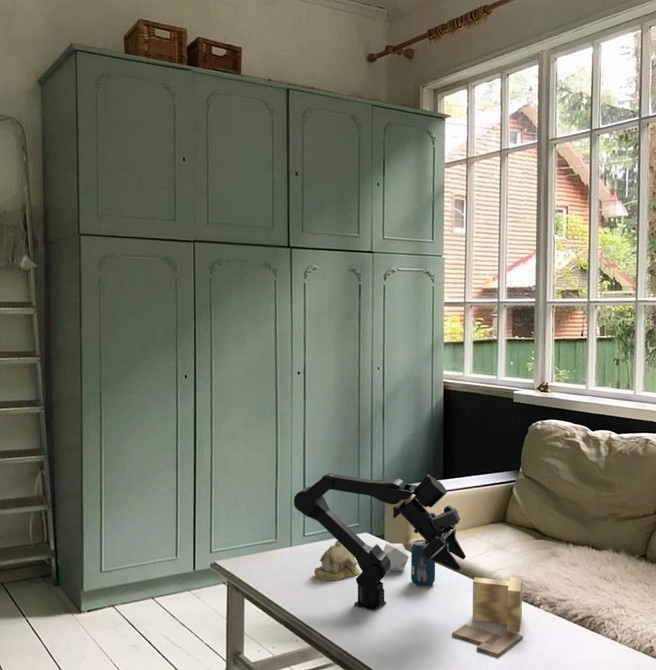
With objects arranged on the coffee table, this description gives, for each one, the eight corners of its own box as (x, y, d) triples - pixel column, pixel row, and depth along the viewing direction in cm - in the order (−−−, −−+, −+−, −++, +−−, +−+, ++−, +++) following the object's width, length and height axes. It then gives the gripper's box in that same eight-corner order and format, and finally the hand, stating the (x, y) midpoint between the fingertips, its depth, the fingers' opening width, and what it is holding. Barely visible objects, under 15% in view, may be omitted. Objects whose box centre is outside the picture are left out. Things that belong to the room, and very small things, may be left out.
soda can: (428, 578, 230) (428, 538, 229) (439, 586, 223) (439, 545, 223) (407, 580, 228) (407, 540, 227) (417, 588, 221) (417, 547, 221)
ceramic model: (336, 564, 242) (336, 533, 242) (365, 572, 235) (366, 539, 235) (308, 576, 231) (308, 543, 231) (337, 585, 224) (338, 551, 224)
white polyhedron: (400, 578, 231) (416, 550, 234) (375, 563, 233) (391, 535, 235) (397, 579, 239) (412, 551, 242) (373, 564, 240) (389, 537, 243)
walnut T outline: (445, 640, 187) (445, 637, 187) (471, 623, 197) (471, 620, 197) (498, 657, 178) (498, 653, 178) (522, 638, 188) (522, 635, 188)
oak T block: (471, 624, 196) (471, 586, 196) (475, 610, 206) (476, 573, 205) (519, 630, 192) (520, 591, 192) (521, 615, 202) (522, 578, 202)
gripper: (434, 507, 193) (479, 554, 190) (447, 490, 211) (488, 533, 208) (404, 536, 196) (448, 583, 193) (418, 517, 213) (459, 560, 210)
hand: (462, 563), depth 201 cm, fingers open, 9 cm apart
